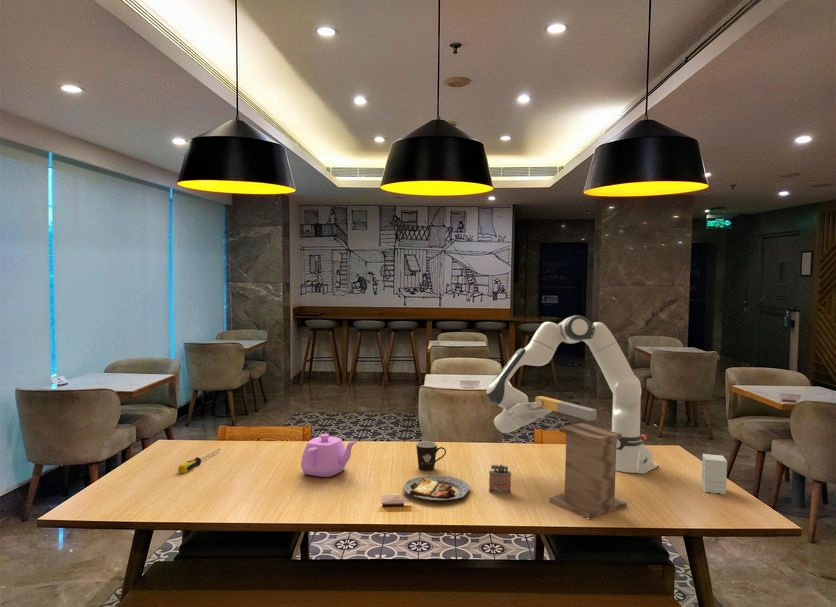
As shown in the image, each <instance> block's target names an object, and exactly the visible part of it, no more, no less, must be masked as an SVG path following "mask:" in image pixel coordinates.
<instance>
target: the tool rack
mask: <svg viewBox="0 0 836 607" xmlns="http://www.w3.org/2000/svg"><path fill="white" fill-rule="evenodd" d="M558 431H559V432H561V433H563V434H566V436H565V438H566V439H565V466H564V467H565V469H564V471H565V473H564V493H561V494H558V495H554V496H550V497H549V501H550V502H549V503H551V502H552V504H553V503H554V505H556V506H557V507H560V508H562V507H563V508H562V509H564V508H565V510H566V509H567V510H566V511H569V512H571V513H573V512H574V513H573V514H575V513H576V515H577V514H578V516H580V515H581V516H580V517H582V516H583V517H582V518H584V517H585V518H584V519H586V518H590V519H593V518H596V517H595V516H597V517H599V516H598V515H600V516H602V515H601V514H603V515H605V513H606V514H608V512H609V513H612V512H614V510H615V511H618V510H620V509H619V508H621V509H624V508H627V506H628V503H627V501H624V500H621V499H619V498H617V497H616V474H617V472H616V471H617V470H616V440H617V439H621V438H622V434H620V433H616V432H613V431H612V430H609V429H605V428H602V427H599V426H595V425H591V424H587V423H584V422H579V423H575V424H569V425H564V426H560V427H558ZM623 507H624V508H623ZM617 509H618V510H617ZM611 511H612V512H611ZM592 517H593V518H592Z"/></svg>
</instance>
